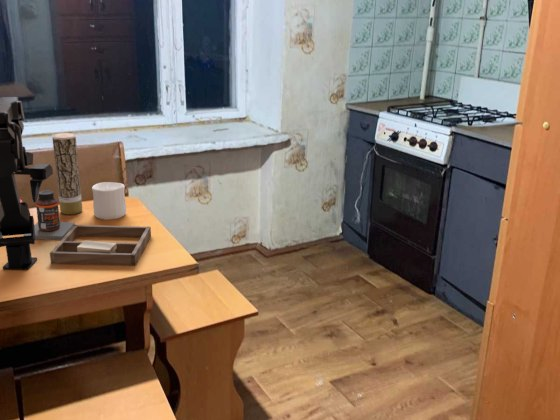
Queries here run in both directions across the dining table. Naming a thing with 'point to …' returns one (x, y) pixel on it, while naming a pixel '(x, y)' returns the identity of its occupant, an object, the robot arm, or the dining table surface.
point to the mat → (56, 234)
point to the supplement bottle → (47, 211)
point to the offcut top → (96, 247)
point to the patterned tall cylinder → (67, 173)
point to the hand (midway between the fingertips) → (18, 201)
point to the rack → (123, 256)
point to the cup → (109, 200)
